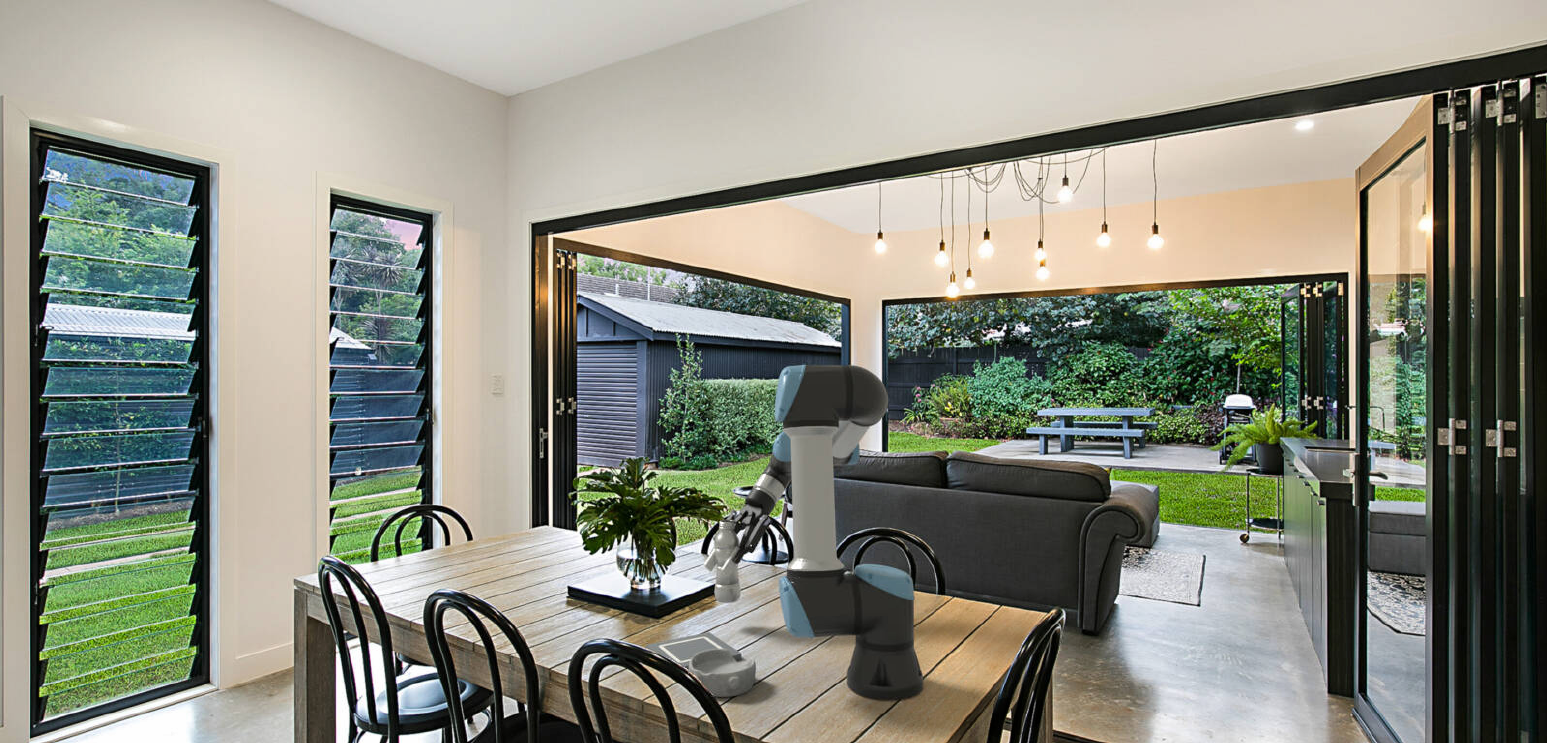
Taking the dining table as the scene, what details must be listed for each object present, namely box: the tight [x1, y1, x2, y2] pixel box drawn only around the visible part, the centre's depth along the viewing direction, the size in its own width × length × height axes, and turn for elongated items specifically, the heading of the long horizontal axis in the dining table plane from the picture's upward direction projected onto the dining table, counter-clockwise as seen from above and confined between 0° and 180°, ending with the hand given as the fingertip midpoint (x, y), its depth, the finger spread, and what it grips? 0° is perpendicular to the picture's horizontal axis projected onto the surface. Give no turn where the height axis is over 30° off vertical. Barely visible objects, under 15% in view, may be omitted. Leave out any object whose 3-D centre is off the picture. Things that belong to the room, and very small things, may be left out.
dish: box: [688, 649, 757, 698], centre depth 147 cm, size 14×14×5 cm
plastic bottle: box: [713, 519, 742, 604], centre depth 182 cm, size 6×7×20 cm
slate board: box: [645, 632, 742, 670], centre depth 164 cm, size 16×16×1 cm
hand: (716, 570), depth 180 cm, fingers closed on plastic bottle, 6 cm apart
